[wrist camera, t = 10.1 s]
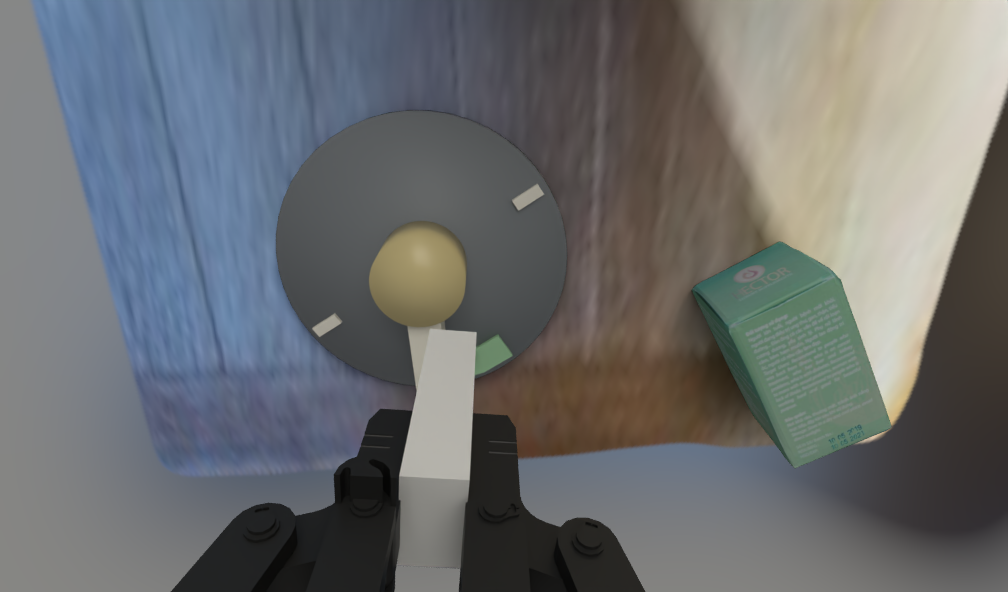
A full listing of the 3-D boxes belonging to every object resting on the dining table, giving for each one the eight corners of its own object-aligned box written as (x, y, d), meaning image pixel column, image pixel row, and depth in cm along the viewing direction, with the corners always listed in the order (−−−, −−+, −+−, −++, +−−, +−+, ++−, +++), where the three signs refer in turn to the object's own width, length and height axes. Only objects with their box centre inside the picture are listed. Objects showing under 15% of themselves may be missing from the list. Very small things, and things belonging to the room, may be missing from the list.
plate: (219, 217, 37) (210, 223, 36) (462, 44, 34) (461, 43, 32) (397, 419, 44) (394, 430, 43) (613, 293, 41) (618, 301, 39)
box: (779, 234, 40) (841, 270, 33) (833, 371, 44) (897, 429, 37) (685, 282, 41) (726, 328, 34) (748, 411, 46) (795, 473, 39)
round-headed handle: (373, 223, 37) (362, 241, 33) (463, 218, 37) (461, 234, 33) (400, 392, 42) (392, 423, 38) (478, 386, 42) (477, 417, 38)
